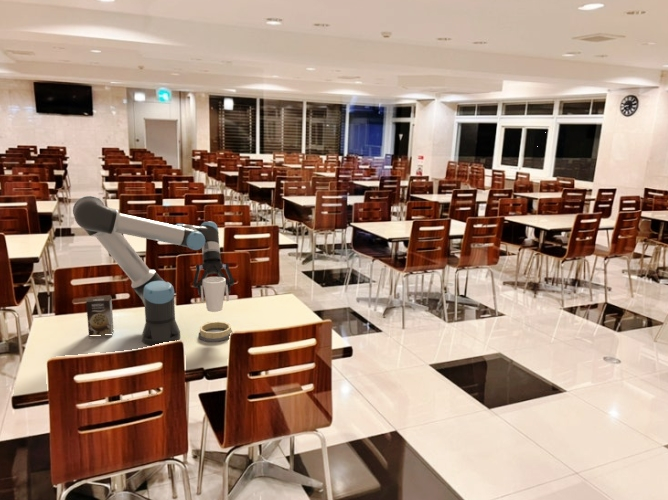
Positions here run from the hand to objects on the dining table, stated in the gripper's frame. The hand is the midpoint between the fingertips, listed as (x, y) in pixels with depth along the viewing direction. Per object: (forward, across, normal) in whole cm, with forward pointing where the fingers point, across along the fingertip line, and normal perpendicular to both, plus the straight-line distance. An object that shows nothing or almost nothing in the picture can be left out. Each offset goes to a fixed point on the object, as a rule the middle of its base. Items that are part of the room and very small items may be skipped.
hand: (215, 300), depth 214 cm
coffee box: (+2, +46, -23) cm, 51 cm away
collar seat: (+10, 0, -14) cm, 17 cm away
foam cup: (+1, 0, -6) cm, 6 cm away
